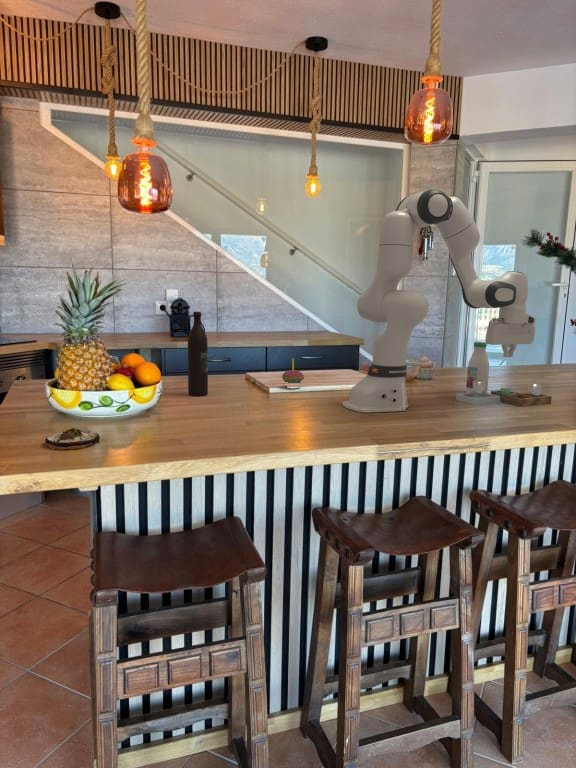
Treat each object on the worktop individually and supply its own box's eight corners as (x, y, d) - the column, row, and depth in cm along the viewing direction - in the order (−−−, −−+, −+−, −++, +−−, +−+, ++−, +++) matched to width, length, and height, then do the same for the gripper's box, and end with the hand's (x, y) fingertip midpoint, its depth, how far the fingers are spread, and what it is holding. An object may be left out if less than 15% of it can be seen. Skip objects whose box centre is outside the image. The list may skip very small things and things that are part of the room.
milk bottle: (484, 393, 218) (488, 341, 215) (489, 397, 210) (493, 343, 207) (463, 392, 219) (467, 340, 215) (468, 396, 211) (472, 343, 208)
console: (504, 402, 200) (505, 394, 200) (490, 399, 206) (490, 391, 206) (519, 401, 203) (520, 393, 203) (504, 397, 209) (504, 389, 209)
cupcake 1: (281, 386, 226) (281, 356, 224) (302, 386, 227) (302, 356, 224) (283, 390, 217) (283, 359, 215) (305, 390, 218) (305, 359, 216)
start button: (505, 397, 202) (505, 389, 202) (497, 396, 205) (498, 387, 205) (512, 397, 204) (512, 389, 203) (504, 395, 207) (505, 387, 206)
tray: (473, 406, 194) (474, 398, 194) (455, 401, 202) (456, 394, 202) (499, 403, 199) (500, 396, 199) (480, 398, 207) (481, 391, 207)
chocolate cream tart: (70, 457, 132) (69, 439, 131) (27, 447, 139) (26, 431, 138) (117, 442, 145) (116, 426, 144) (76, 434, 152) (75, 419, 151)
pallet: (519, 408, 192) (520, 399, 191) (501, 403, 199) (502, 395, 198) (550, 404, 198) (551, 396, 198) (532, 400, 205) (533, 392, 205)
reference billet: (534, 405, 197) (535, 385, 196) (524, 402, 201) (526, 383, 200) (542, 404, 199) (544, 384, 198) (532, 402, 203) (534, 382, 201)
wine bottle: (202, 397, 201) (201, 312, 196) (184, 395, 203) (183, 311, 198) (211, 393, 208) (210, 311, 202) (194, 392, 210) (193, 311, 205)
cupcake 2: (436, 378, 252) (437, 355, 250) (432, 381, 243) (434, 358, 242) (415, 376, 256) (416, 354, 254) (411, 379, 247) (412, 356, 245)
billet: (477, 402, 198) (478, 382, 197) (469, 400, 201) (470, 380, 200) (486, 401, 200) (487, 381, 198) (477, 399, 203) (479, 380, 202)
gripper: (496, 318, 192) (493, 358, 195) (539, 318, 201) (535, 357, 203) (482, 317, 198) (479, 356, 200) (525, 317, 207) (521, 355, 209)
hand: (508, 357), depth 202 cm, fingers closed
